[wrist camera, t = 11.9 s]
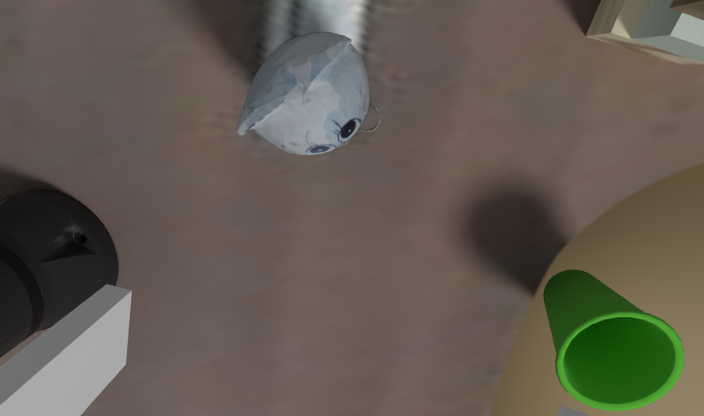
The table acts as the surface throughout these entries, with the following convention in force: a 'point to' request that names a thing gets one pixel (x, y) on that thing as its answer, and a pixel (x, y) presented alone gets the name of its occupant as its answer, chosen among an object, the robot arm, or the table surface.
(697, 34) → the tower top
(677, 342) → the cup
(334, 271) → the table surface
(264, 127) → the figurine
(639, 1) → the tower base
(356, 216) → the table surface
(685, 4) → the walnut cube
